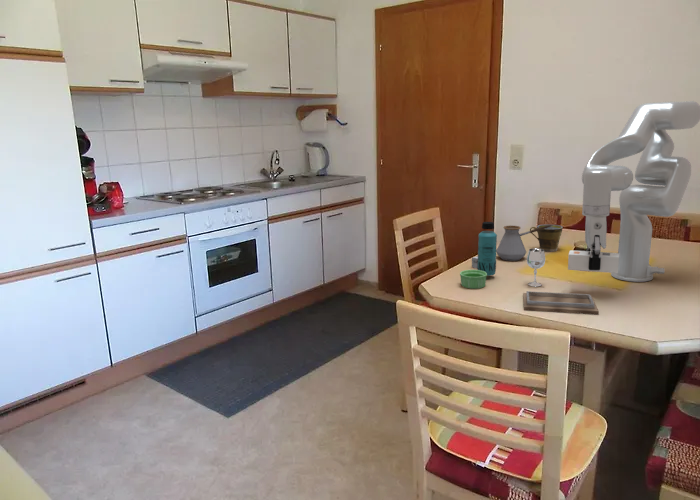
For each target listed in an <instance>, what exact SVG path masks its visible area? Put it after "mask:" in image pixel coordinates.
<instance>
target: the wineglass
mask: <svg viewBox="0 0 700 500" xmlns="http://www.w3.org/2000/svg"><path fill="white" fill-rule="evenodd" d="M545 262H546V255H545V251H544V250H543V249H540V248H538V247H536V248H535V247H533V248H529V249H528V252H527V256H526V264H527V266H528V267H530V268H532V269H534V270H533V273H534V276H533V277H534V279H533V281H531V282H528V283H527V285H528V286H530V287H536V288H537V287H541V286H542V283H540V282H538V281H537V280H536V279H537V273H538V270H539V269H541V268H543V267H544V266H545ZM537 269H538V270H537Z"/></svg>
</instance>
